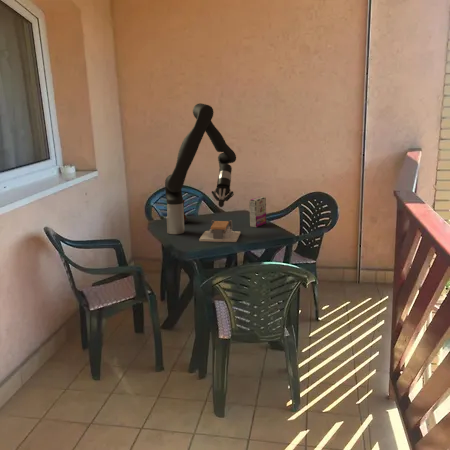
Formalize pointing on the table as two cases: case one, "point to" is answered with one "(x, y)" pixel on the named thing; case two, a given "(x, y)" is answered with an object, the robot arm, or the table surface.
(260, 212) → the candy bar box
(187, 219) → the mug
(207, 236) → the heatsink board
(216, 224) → the brown flat panel
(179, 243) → the table surface
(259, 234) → the table surface
